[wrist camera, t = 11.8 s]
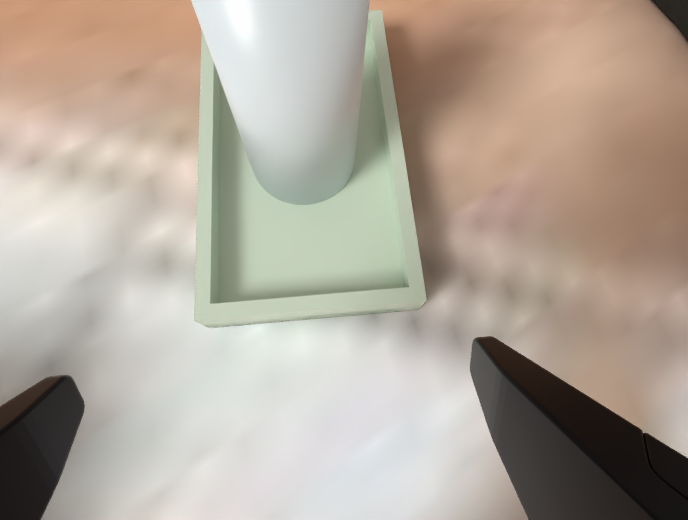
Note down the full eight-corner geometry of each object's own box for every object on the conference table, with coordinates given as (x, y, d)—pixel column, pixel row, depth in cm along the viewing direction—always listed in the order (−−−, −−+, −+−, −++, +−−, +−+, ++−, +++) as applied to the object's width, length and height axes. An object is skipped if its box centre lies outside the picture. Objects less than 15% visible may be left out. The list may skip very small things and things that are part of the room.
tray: (418, 309, 23) (426, 300, 21) (209, 327, 23) (194, 320, 20) (378, 40, 29) (381, 10, 27) (213, 51, 29) (202, 20, 27)
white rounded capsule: (375, 160, 25) (416, -62, 13) (300, 225, 24) (264, 44, 11) (306, 98, 27) (283, -157, 14) (230, 156, 25) (131, -73, 13)
